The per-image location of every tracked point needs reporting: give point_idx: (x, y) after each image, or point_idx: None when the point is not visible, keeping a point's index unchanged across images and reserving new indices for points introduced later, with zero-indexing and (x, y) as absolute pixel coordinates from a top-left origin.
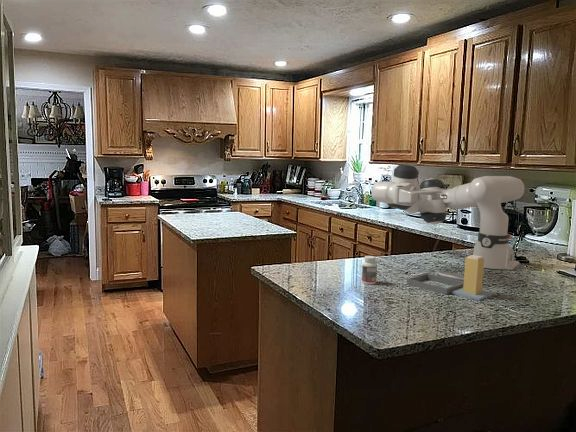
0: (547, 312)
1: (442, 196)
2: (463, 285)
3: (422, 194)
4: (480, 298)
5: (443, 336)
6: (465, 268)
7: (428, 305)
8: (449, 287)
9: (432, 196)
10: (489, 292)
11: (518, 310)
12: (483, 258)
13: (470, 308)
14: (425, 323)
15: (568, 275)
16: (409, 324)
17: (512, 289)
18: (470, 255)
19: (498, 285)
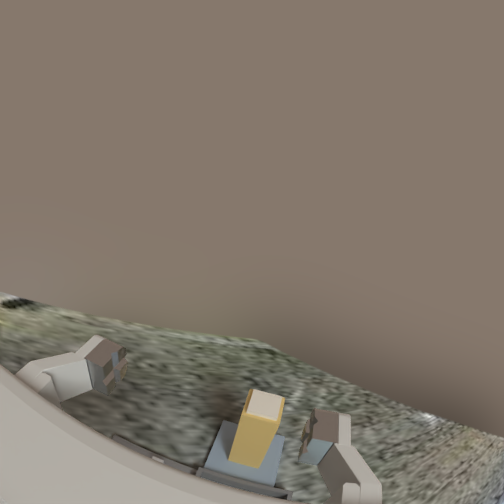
0: (269, 359)
1: (111, 371)
2: (261, 461)
3: (346, 490)
4: (280, 436)
5: (458, 426)
6: (272, 439)
7: (385, 493)
8: (275, 489)
9: (330, 412)
10: (225, 425)
11: (290, 387)
12: (252, 390)
13: None
14: (449, 456)
15: (26, 301)
16: (467, 465)
17: (154, 391)
18: (262, 413)
19: (133, 410)
